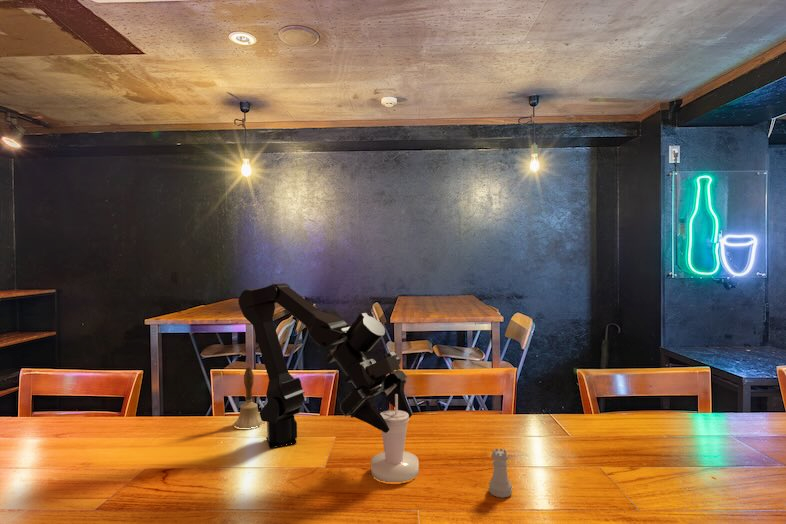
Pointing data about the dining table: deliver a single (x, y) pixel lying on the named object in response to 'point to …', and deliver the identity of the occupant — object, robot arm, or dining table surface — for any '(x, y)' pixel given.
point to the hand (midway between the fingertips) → (399, 423)
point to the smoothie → (395, 434)
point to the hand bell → (248, 405)
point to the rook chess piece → (500, 475)
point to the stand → (394, 468)
